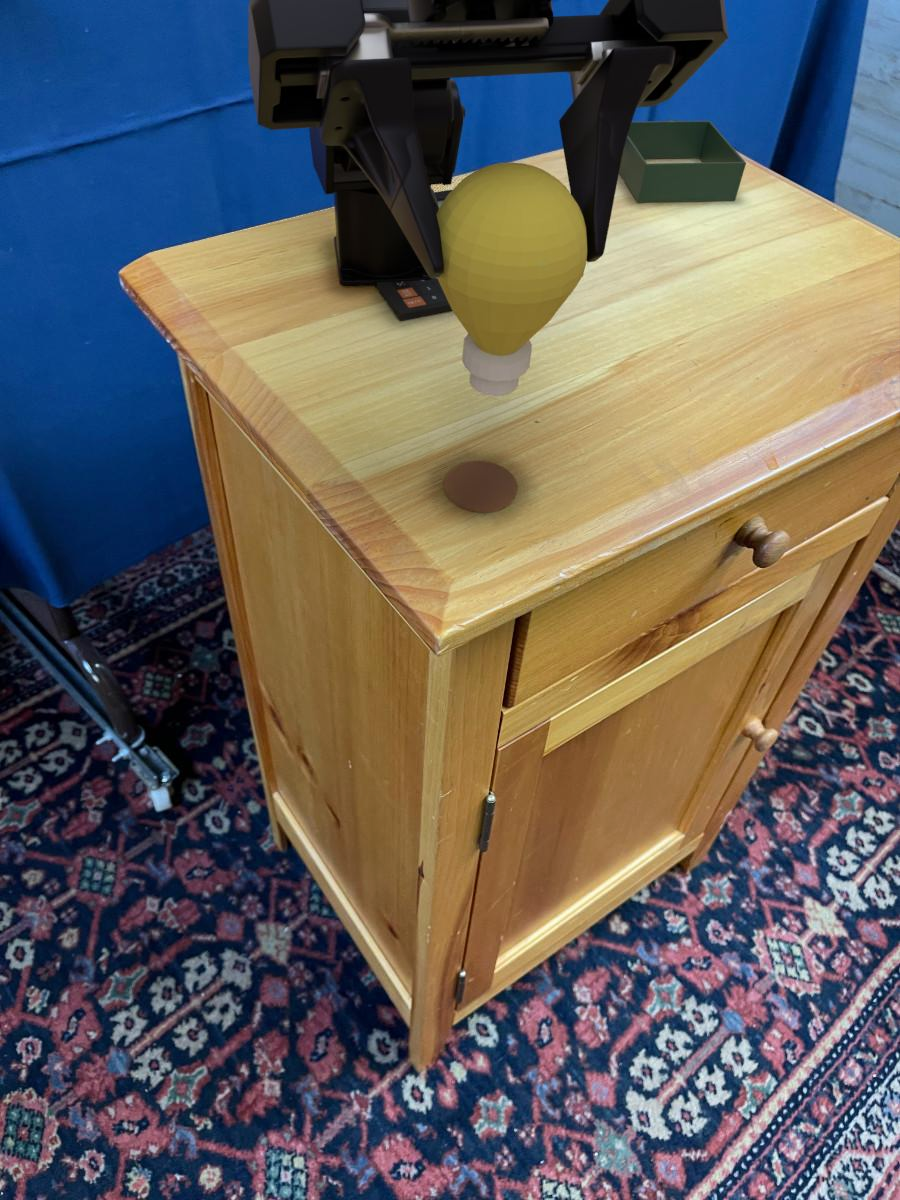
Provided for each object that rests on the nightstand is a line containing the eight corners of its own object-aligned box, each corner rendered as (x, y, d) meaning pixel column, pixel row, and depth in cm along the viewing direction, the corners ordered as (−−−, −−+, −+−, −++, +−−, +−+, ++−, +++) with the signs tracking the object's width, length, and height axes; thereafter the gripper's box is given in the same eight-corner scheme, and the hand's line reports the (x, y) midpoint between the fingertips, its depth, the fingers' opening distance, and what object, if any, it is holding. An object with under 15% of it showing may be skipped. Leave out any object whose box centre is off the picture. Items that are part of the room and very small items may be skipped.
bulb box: (637, 202, 70) (645, 164, 68) (609, 158, 75) (616, 121, 73) (735, 200, 71) (746, 162, 69) (700, 157, 76) (710, 120, 74)
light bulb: (551, 341, 44) (585, 136, 37) (573, 425, 40) (616, 212, 32) (421, 341, 44) (427, 132, 36) (428, 425, 39) (438, 208, 32)
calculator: (400, 325, 57) (400, 283, 55) (341, 244, 64) (339, 203, 62) (525, 300, 60) (530, 259, 58) (456, 225, 67) (458, 185, 65)
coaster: (449, 515, 45) (449, 512, 45) (438, 465, 48) (438, 462, 48) (524, 509, 46) (524, 507, 46) (509, 460, 48) (509, 458, 48)
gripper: (209, -355, 24) (307, 216, 26) (789, -322, 28) (840, 171, 30) (220, -81, 35) (289, 310, 37) (639, -85, 39) (683, 268, 41)
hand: (517, 267), depth 36 cm, fingers closed on light bulb, 6 cm apart
